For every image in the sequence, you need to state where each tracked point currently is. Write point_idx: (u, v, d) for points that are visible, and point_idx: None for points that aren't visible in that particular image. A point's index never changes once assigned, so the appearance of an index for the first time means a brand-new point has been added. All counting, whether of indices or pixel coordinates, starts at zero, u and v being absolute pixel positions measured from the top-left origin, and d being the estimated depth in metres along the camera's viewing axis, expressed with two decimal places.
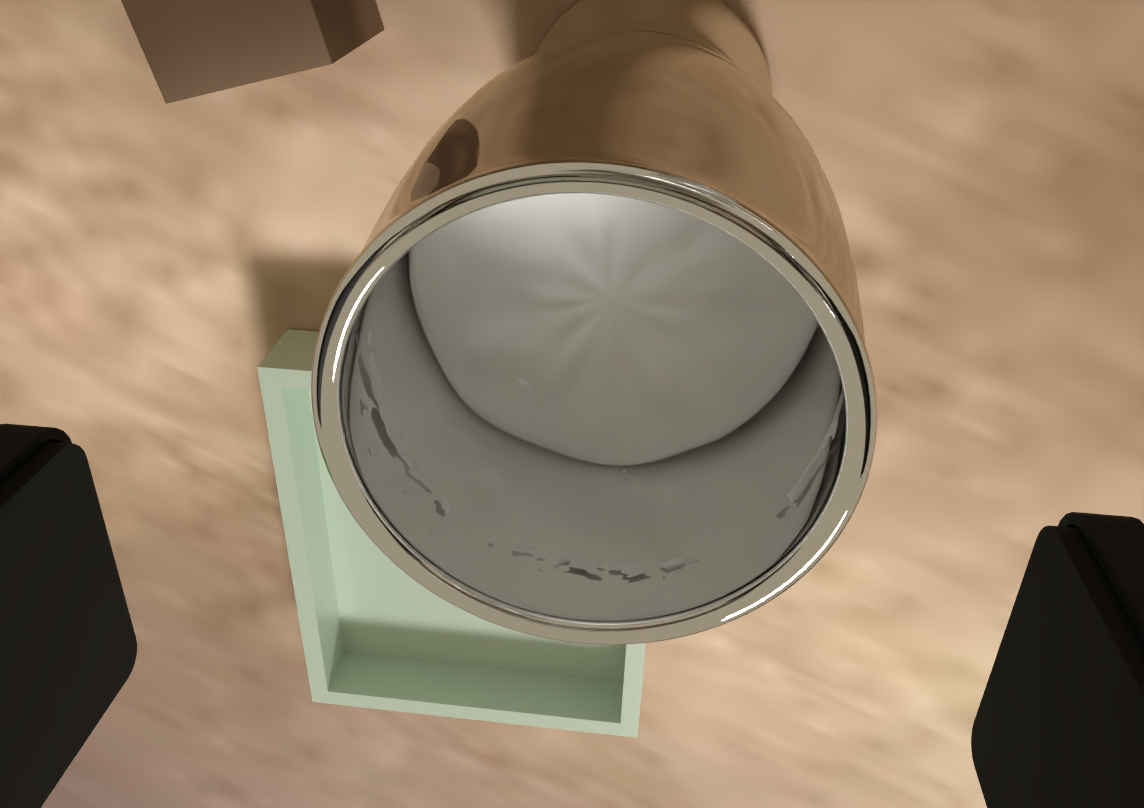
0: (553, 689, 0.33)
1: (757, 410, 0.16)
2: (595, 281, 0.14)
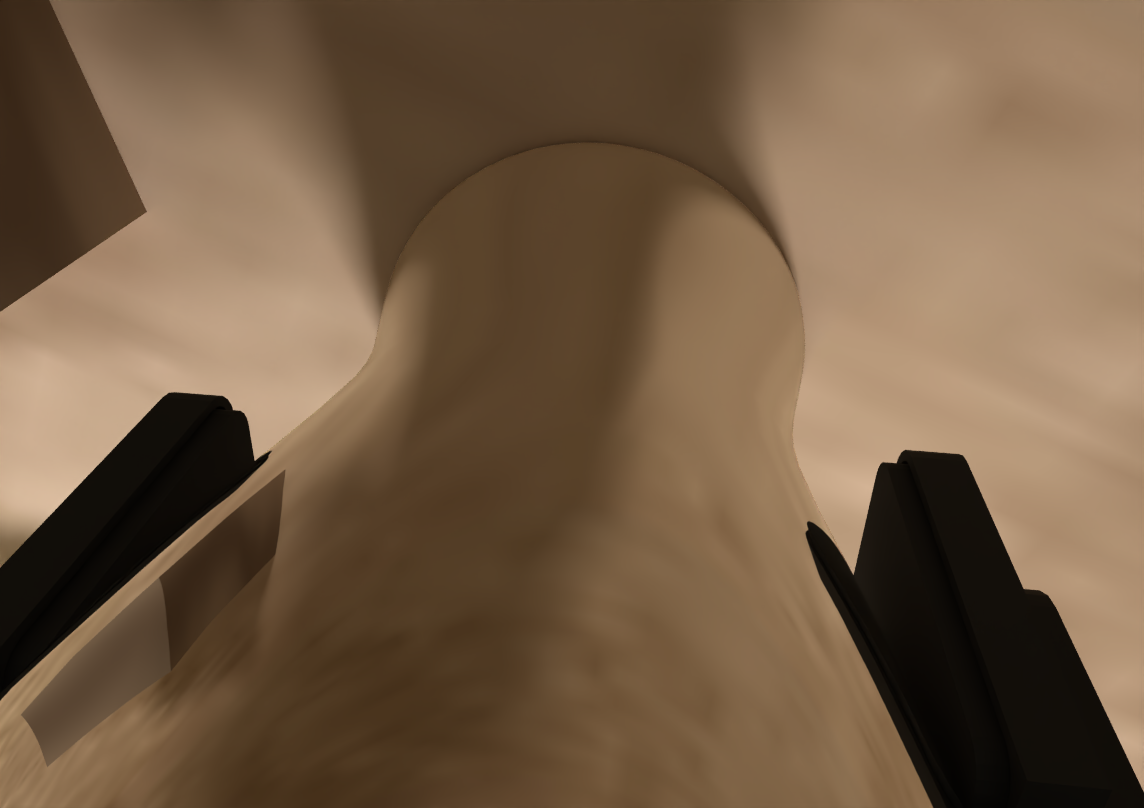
0: None
1: None
2: None
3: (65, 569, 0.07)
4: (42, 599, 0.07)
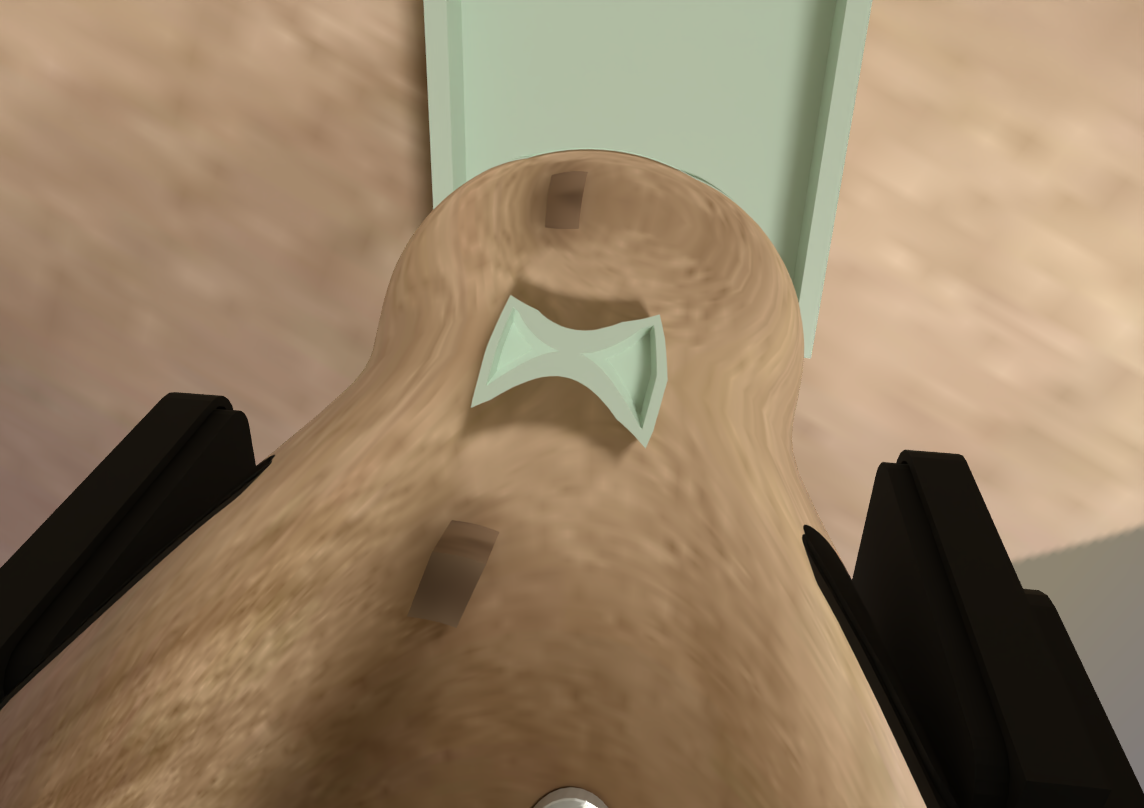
0: None
1: None
2: None
3: (66, 568, 0.07)
4: (42, 599, 0.07)
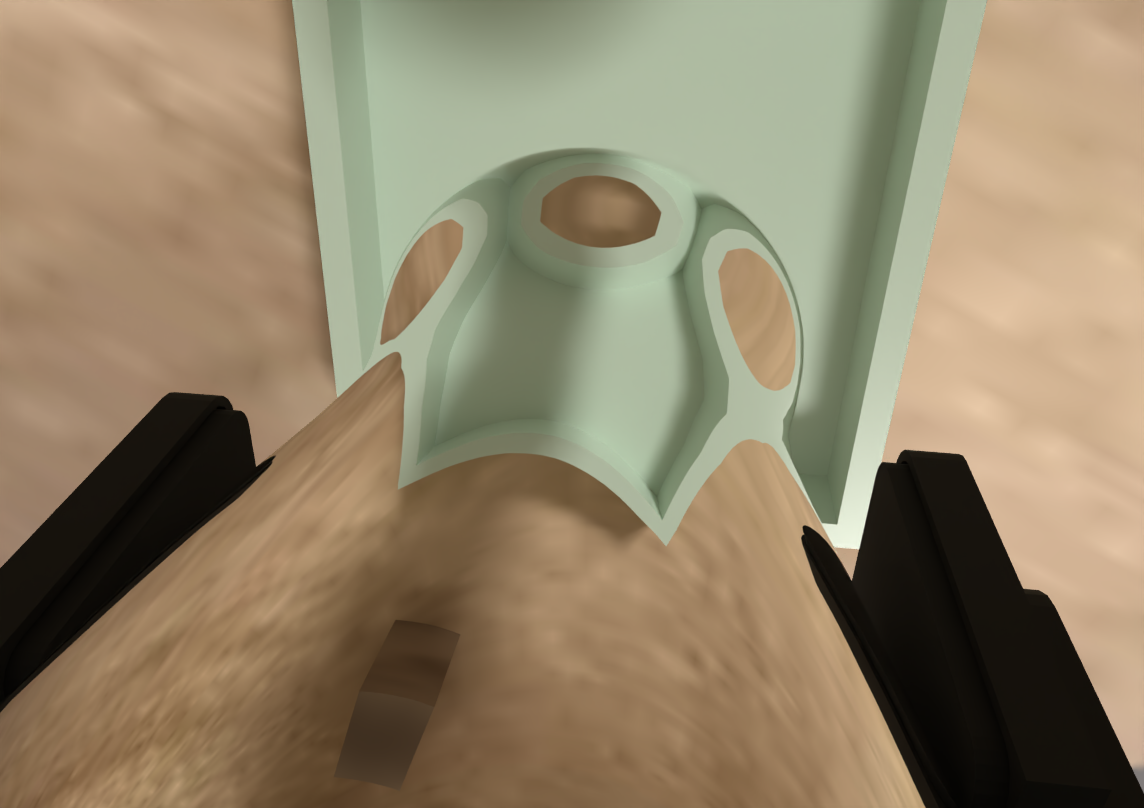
0: None
1: None
2: None
3: (66, 568, 0.07)
4: (43, 598, 0.07)
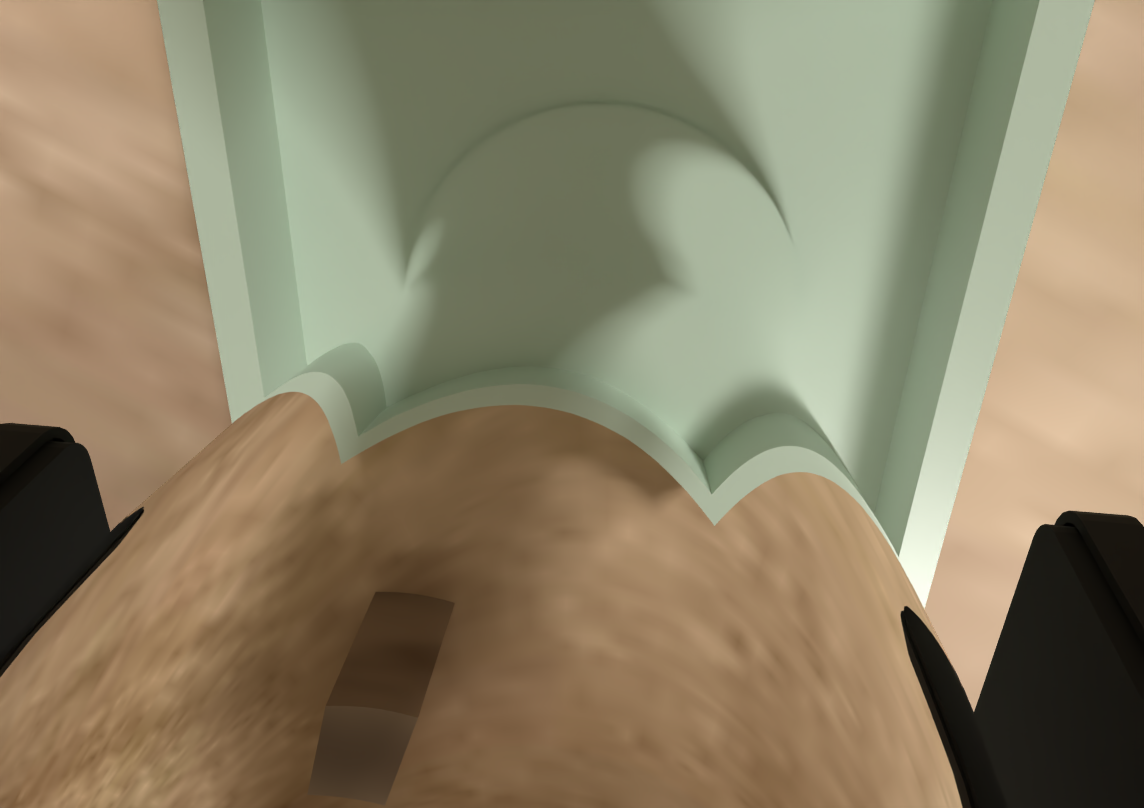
0: None
1: None
2: None
3: None
4: None
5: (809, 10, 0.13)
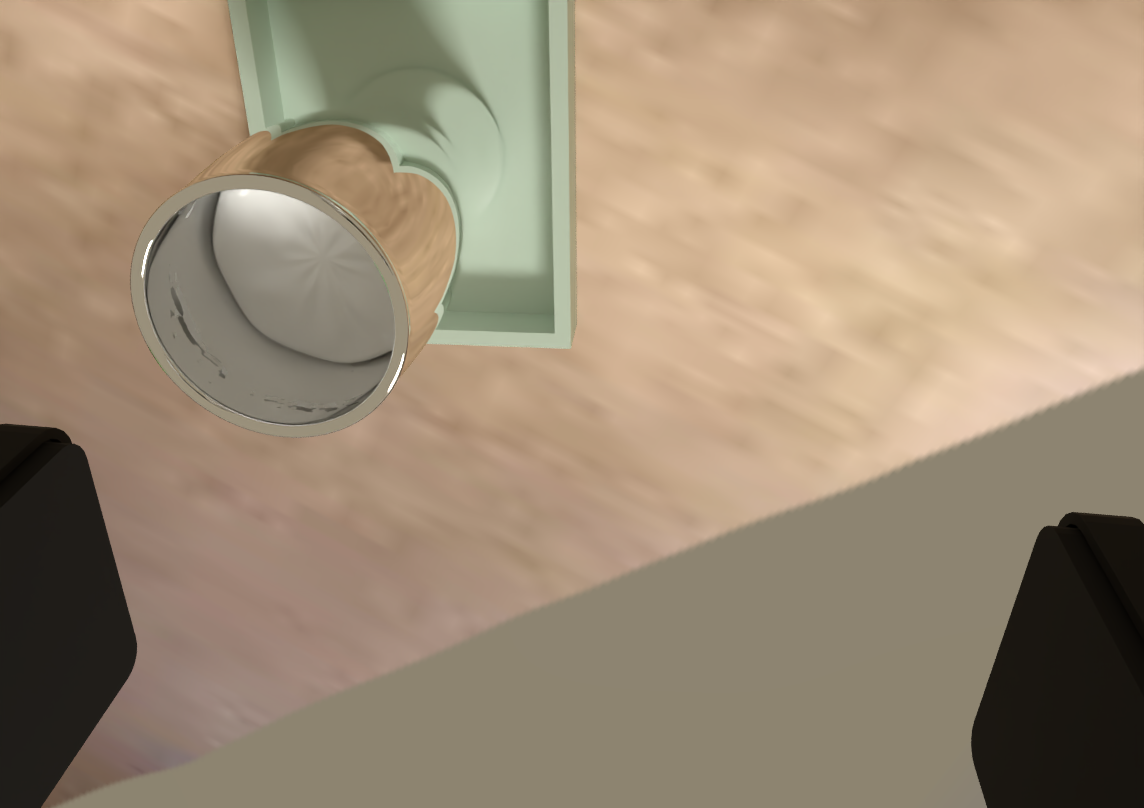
0: (496, 319, 0.37)
1: None
2: (312, 247, 0.25)
3: None
4: None
5: (487, 27, 0.33)
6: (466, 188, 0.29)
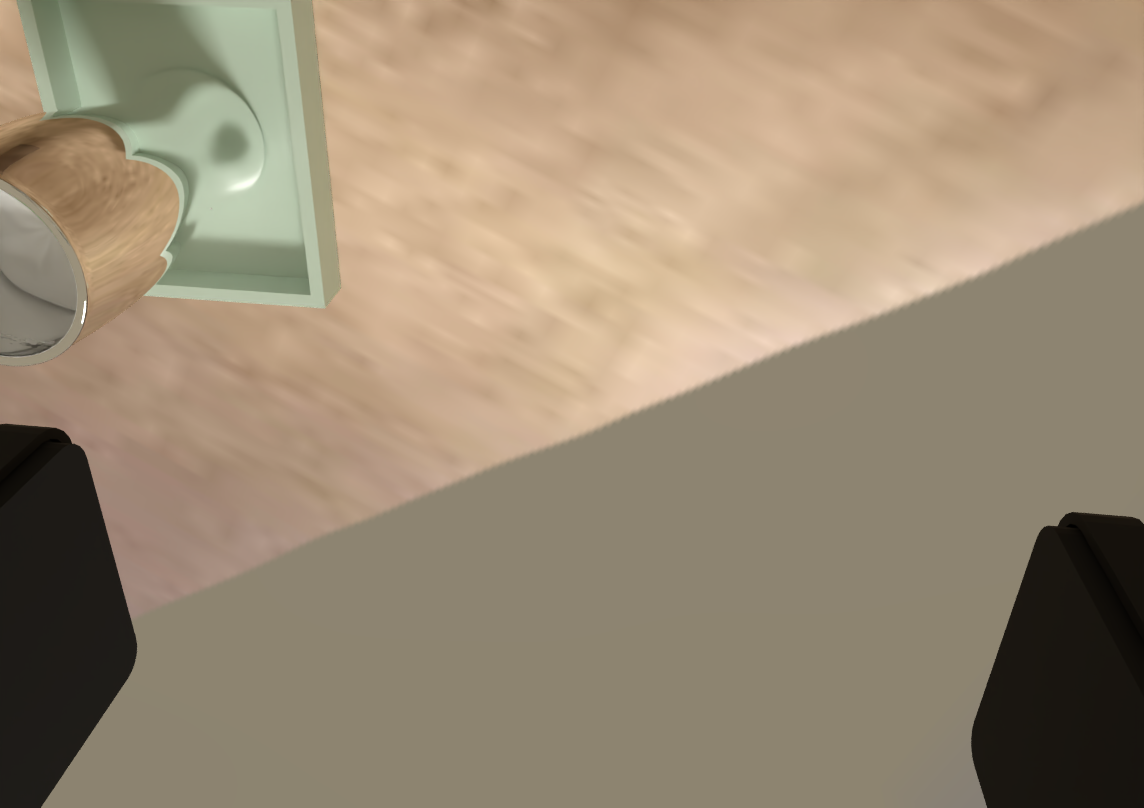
0: (268, 281, 0.44)
1: None
2: None
3: None
4: None
5: (241, 37, 0.40)
6: (197, 174, 0.36)
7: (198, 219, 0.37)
